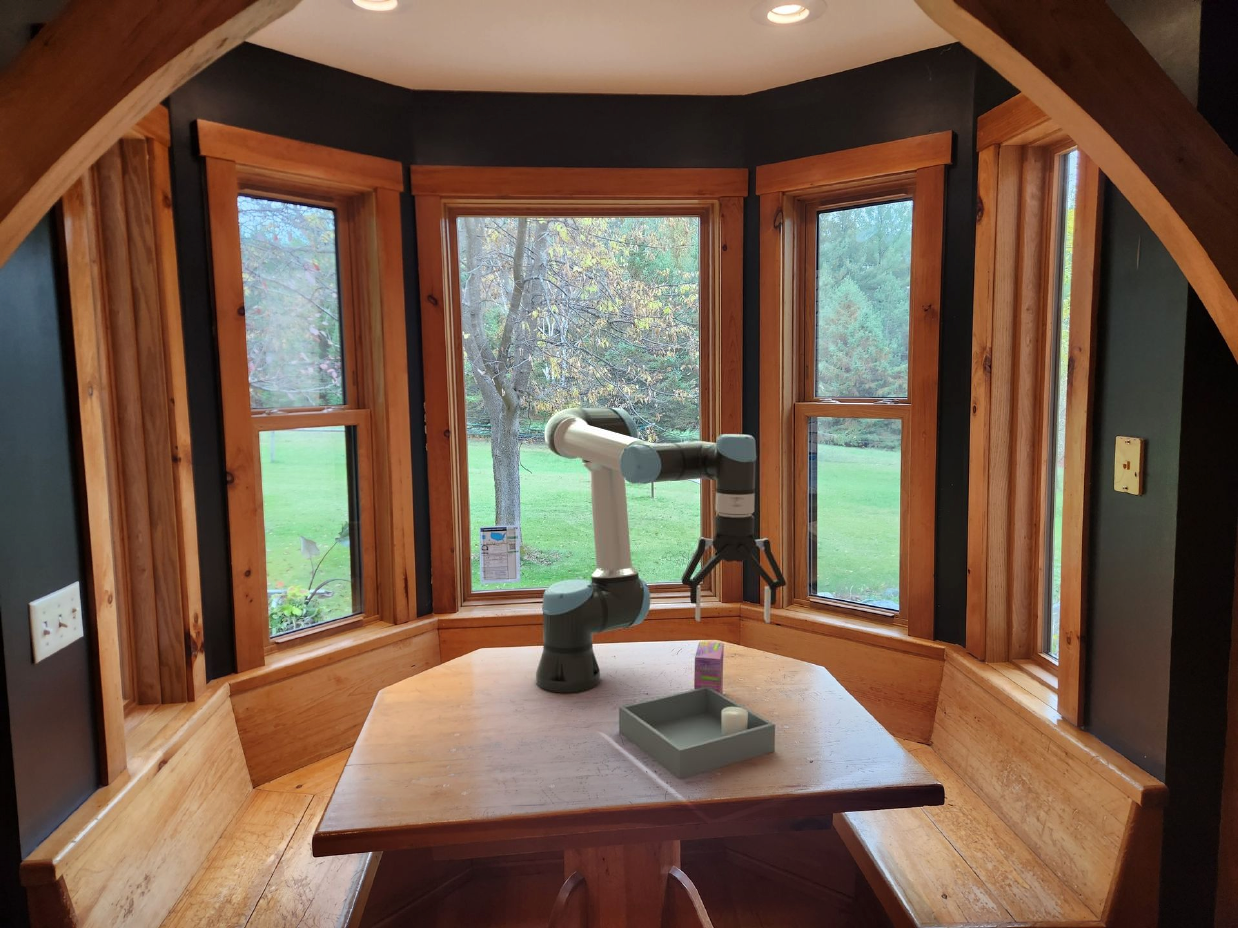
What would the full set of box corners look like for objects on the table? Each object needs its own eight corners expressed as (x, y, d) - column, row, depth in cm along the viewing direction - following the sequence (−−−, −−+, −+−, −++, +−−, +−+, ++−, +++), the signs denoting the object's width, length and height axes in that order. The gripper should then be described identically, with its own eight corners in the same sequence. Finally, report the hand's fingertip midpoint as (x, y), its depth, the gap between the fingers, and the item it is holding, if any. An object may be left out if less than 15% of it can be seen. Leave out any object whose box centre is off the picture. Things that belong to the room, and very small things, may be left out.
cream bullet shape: (715, 739, 152) (716, 709, 151) (736, 733, 154) (736, 704, 154) (731, 749, 148) (732, 719, 147) (752, 743, 150) (753, 713, 149)
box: (720, 711, 167) (720, 658, 166) (693, 709, 168) (693, 656, 167) (723, 693, 177) (724, 642, 176) (698, 691, 178) (698, 641, 177)
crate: (619, 735, 155) (619, 706, 155) (707, 713, 166) (707, 686, 165) (679, 783, 137) (679, 750, 136) (774, 754, 147) (775, 724, 147)
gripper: (671, 516, 148) (669, 624, 151) (803, 518, 147) (799, 626, 150) (670, 509, 156) (668, 613, 158) (795, 511, 155) (792, 615, 157)
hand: (732, 620), depth 154 cm, fingers open, 13 cm apart
